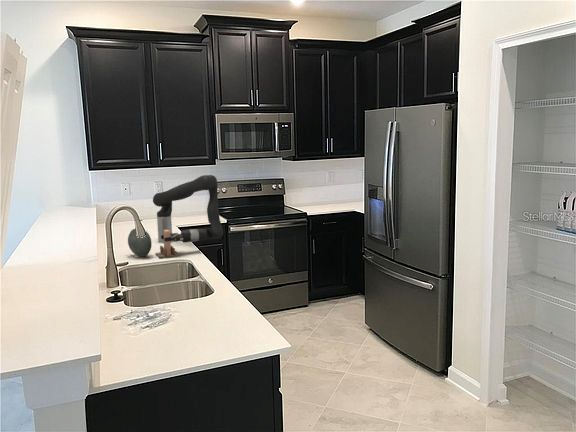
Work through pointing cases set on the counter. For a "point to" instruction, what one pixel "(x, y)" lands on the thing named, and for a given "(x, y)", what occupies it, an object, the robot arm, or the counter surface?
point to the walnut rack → (163, 253)
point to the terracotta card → (167, 244)
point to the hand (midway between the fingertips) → (162, 238)
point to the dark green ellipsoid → (139, 244)
